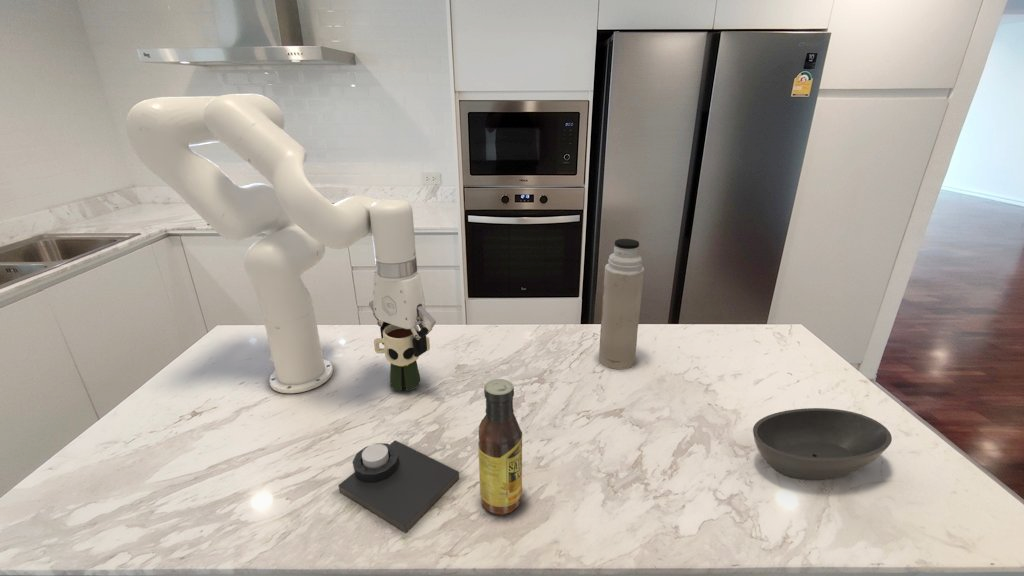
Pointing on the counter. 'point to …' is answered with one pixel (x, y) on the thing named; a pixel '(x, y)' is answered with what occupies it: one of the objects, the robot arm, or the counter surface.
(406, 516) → the scale
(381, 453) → the button
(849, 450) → the bowl
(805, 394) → the counter surface
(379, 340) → the character mug
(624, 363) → the thermos bottle
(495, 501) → the sauce bottle
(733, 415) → the counter surface
